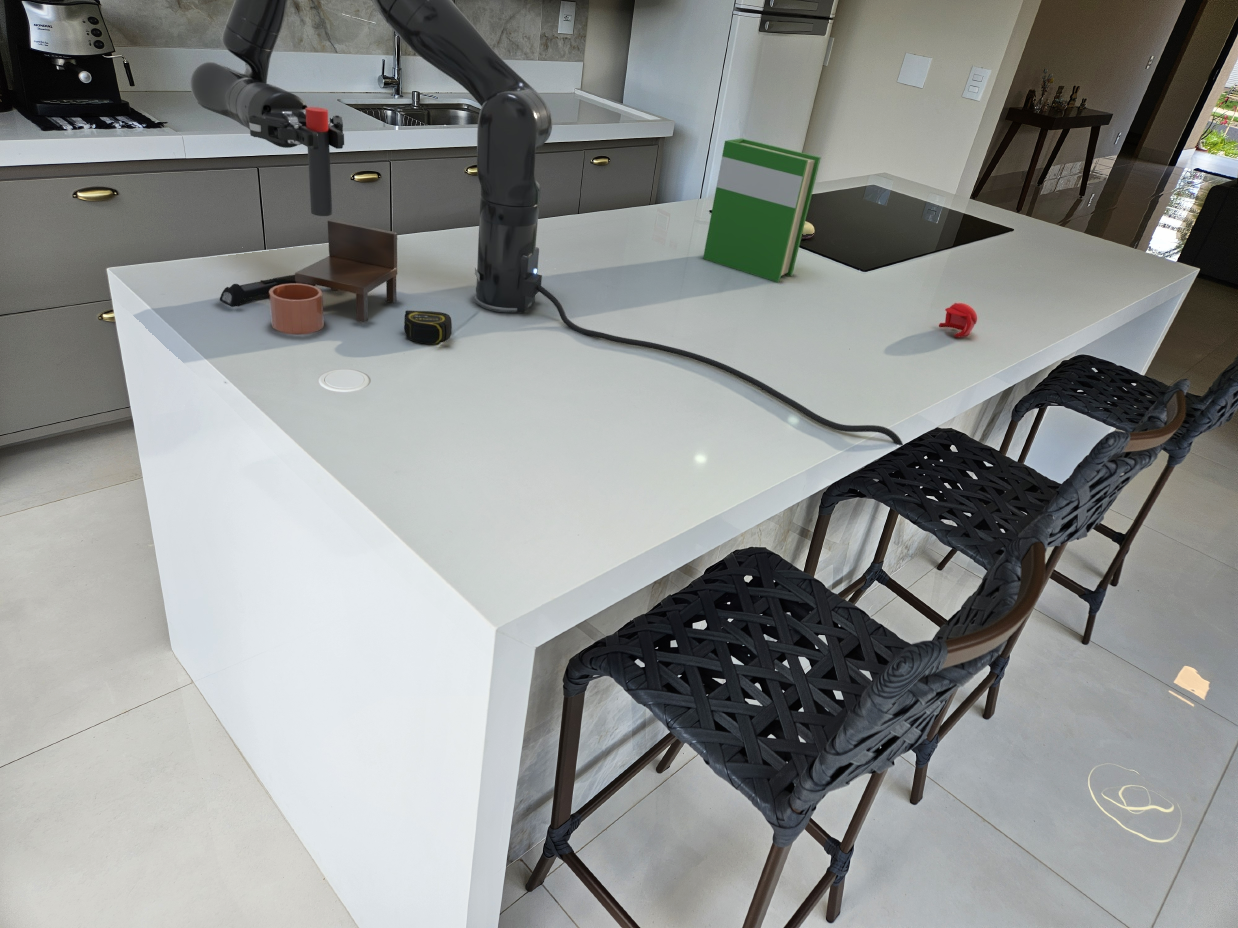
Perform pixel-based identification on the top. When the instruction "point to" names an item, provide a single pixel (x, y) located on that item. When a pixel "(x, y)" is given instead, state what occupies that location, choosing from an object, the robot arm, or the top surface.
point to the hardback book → (760, 208)
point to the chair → (356, 263)
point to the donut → (807, 230)
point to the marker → (319, 163)
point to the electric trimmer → (253, 290)
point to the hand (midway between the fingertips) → (328, 141)
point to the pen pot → (296, 308)
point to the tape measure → (427, 326)
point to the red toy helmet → (960, 319)
